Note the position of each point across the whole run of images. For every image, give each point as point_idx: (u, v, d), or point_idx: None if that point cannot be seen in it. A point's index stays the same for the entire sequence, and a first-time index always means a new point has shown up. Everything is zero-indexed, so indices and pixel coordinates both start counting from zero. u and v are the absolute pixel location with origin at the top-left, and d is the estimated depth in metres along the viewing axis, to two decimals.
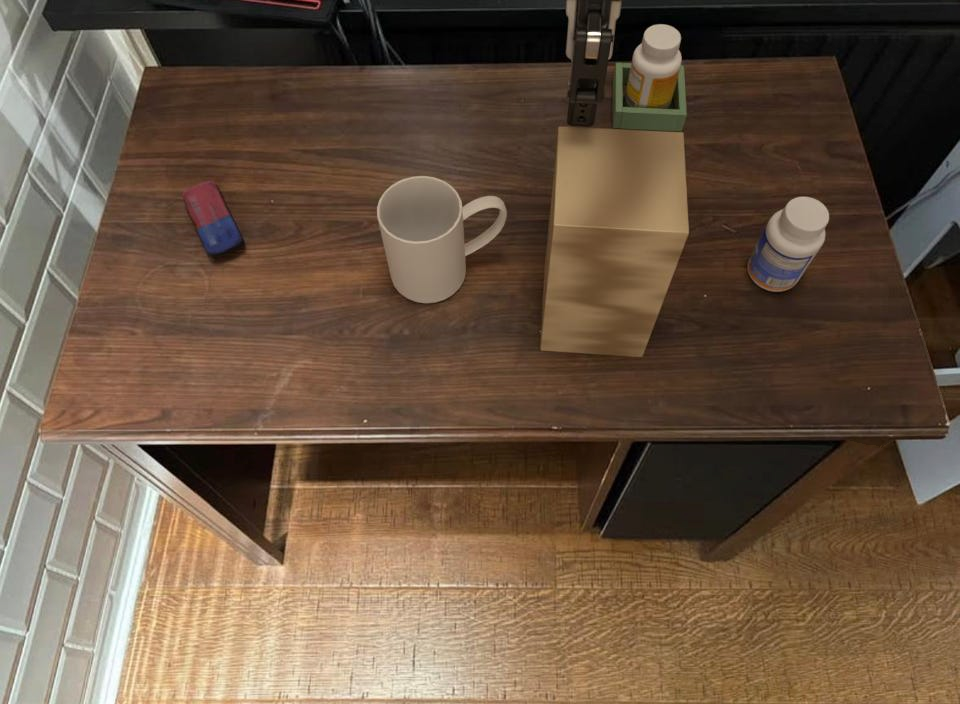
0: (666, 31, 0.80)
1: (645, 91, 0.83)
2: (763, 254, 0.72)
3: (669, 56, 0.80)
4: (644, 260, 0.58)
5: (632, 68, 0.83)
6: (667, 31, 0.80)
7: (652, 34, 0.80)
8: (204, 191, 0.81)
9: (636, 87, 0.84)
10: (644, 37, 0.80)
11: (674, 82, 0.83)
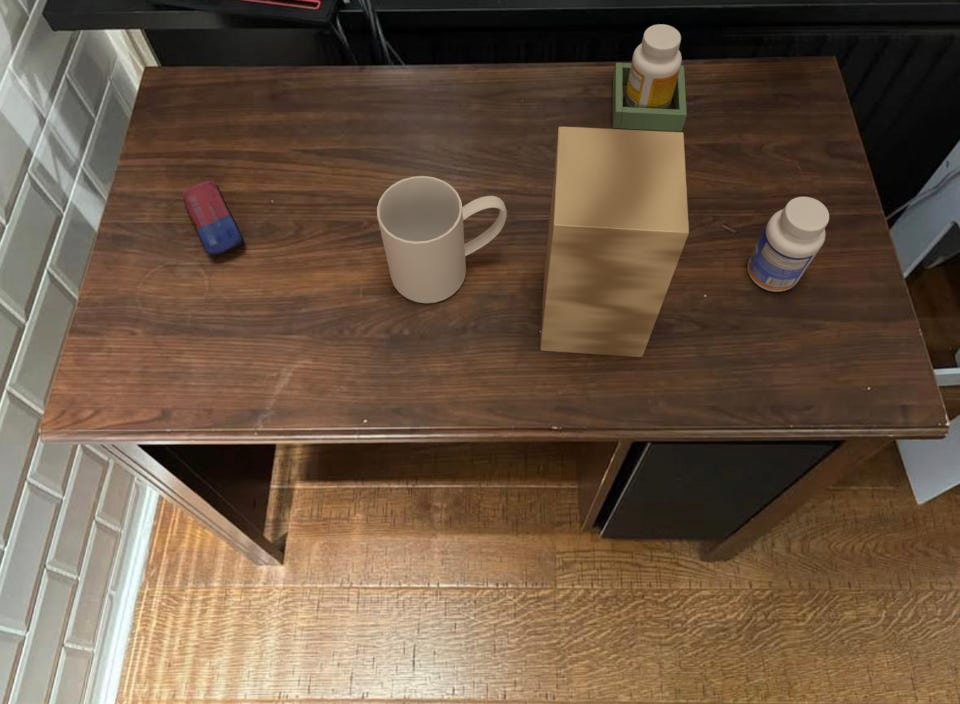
0: (666, 31, 0.80)
1: (645, 91, 0.83)
2: (763, 254, 0.72)
3: (669, 56, 0.80)
4: (644, 260, 0.58)
5: (632, 68, 0.83)
6: (667, 31, 0.80)
7: (652, 34, 0.80)
8: (204, 191, 0.81)
9: (636, 87, 0.84)
10: (644, 37, 0.80)
11: (674, 82, 0.83)
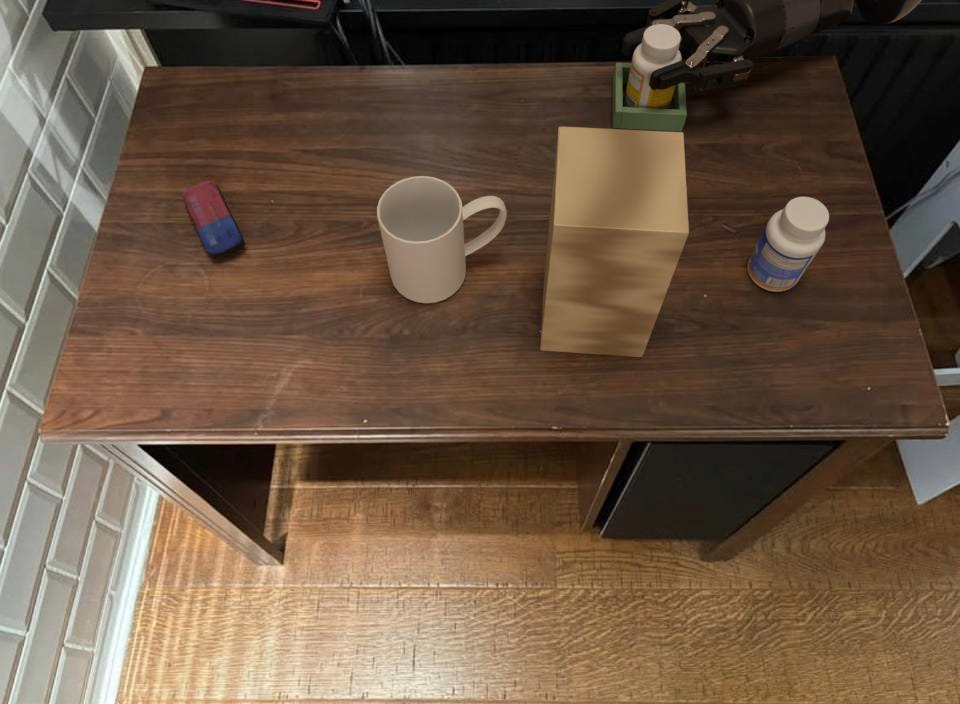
0: (666, 31, 0.80)
1: (645, 91, 0.83)
2: (763, 254, 0.72)
3: (669, 56, 0.80)
4: (644, 260, 0.58)
5: (632, 68, 0.83)
6: (667, 31, 0.80)
7: (652, 34, 0.80)
8: (204, 191, 0.81)
9: (636, 87, 0.84)
10: (644, 37, 0.80)
11: None
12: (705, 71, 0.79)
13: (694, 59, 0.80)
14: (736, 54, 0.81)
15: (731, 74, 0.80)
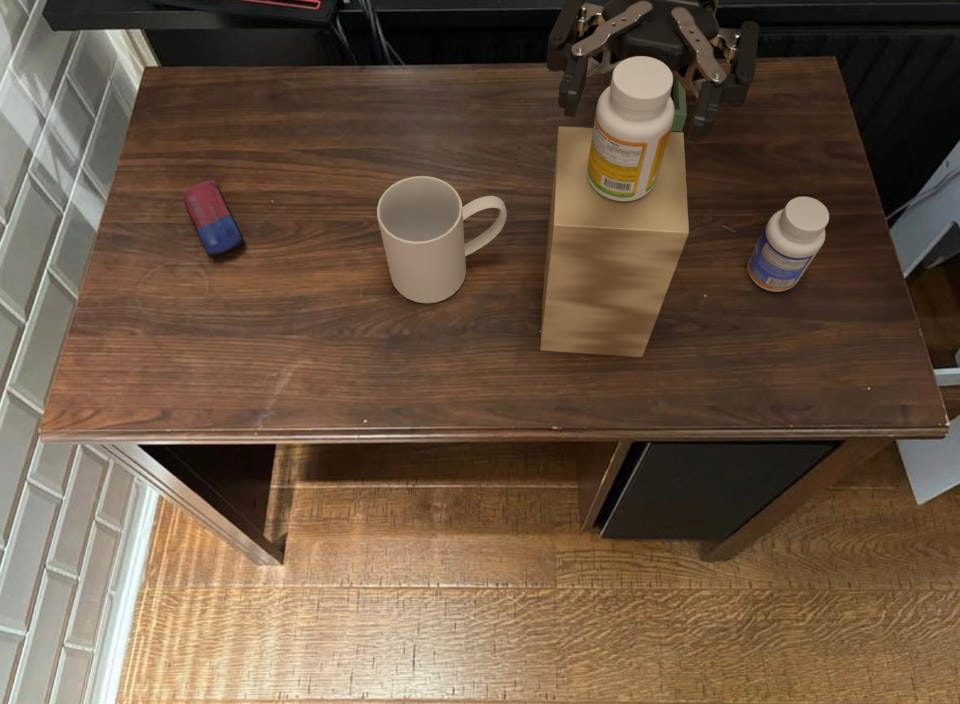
0: (638, 67, 0.49)
1: (648, 161, 0.52)
2: (763, 254, 0.72)
3: (669, 96, 0.49)
4: (644, 260, 0.58)
5: (615, 144, 0.51)
6: (639, 66, 0.49)
7: (630, 83, 0.49)
8: (205, 191, 0.81)
9: (631, 164, 0.52)
10: (625, 93, 0.48)
11: None
12: (748, 73, 0.50)
13: (712, 68, 0.50)
14: (717, 31, 0.53)
15: None
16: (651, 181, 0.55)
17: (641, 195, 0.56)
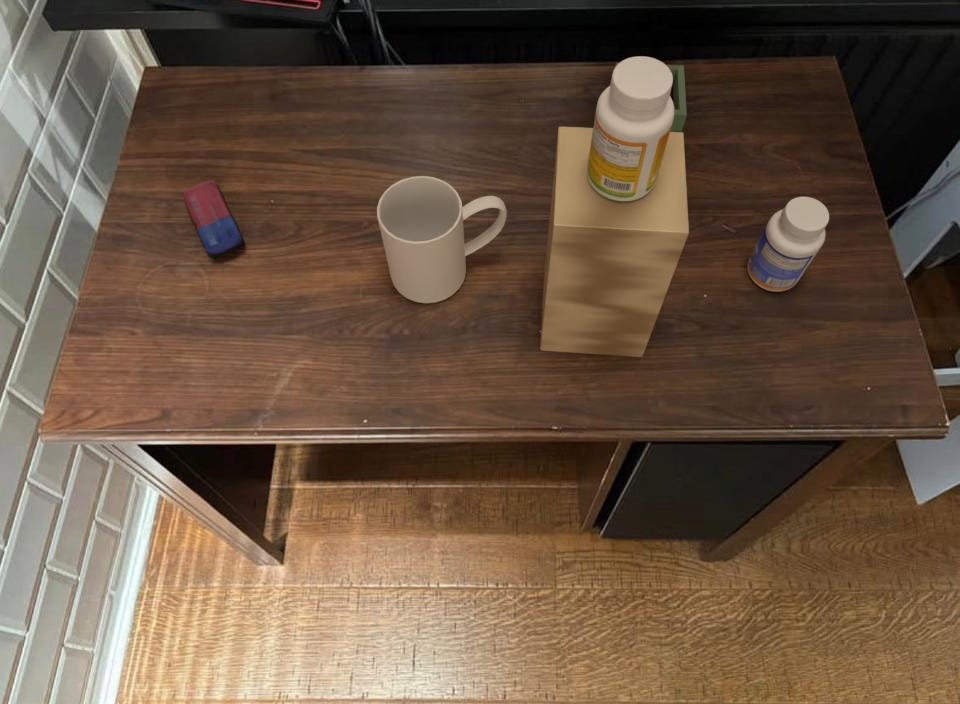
0: (638, 67, 0.49)
1: (648, 161, 0.52)
2: (763, 254, 0.72)
3: (668, 96, 0.49)
4: (644, 260, 0.58)
5: (615, 144, 0.51)
6: (639, 66, 0.49)
7: (629, 83, 0.49)
8: (205, 191, 0.81)
9: (631, 164, 0.52)
10: (625, 93, 0.48)
11: None
12: None
13: None
14: None
15: None
16: (651, 181, 0.55)
17: (641, 195, 0.56)
